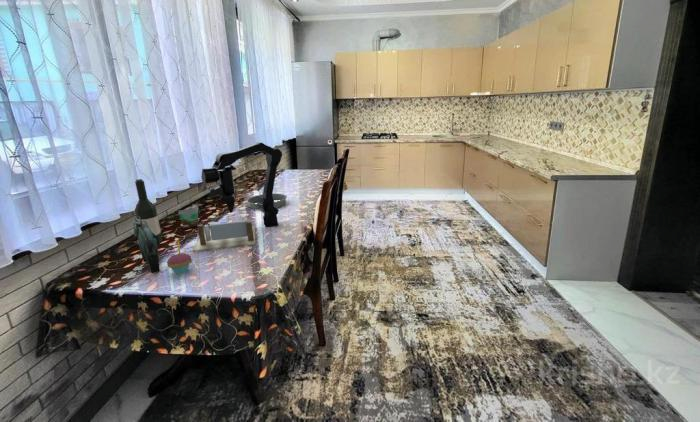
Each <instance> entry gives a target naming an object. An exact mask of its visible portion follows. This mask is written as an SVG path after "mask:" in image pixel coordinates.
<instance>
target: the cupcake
mask: <svg viewBox="0 0 700 422" xmlns="http://www.w3.org/2000/svg"><path fill="white" fill-rule="evenodd" d="M176 244H177V251H178V253H176V254H172V255H171V256H170V257H169V258H168V259H167V260H166V264H167V265H166V266H167V267H168V268H171V270H172V271H173V273H174V274H175V275H184V274H187V273H188V272H189V268H190V264H191V263H192V256H191V255H190V254H189V253H183V252H181V246H180V242H179V240H177V242H176Z"/></svg>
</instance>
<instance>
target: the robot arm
mask: <svg viewBox="0 0 700 422" xmlns="http://www.w3.org/2000/svg"><path fill="white" fill-rule="evenodd" d="M258 152H260V153H261V154H263V155H265V161H266V170H265V171H266V172H265V177H264V178H265V179H264V185H263V191H262V194H260V195H261V196H258V202H257V204H258V208H259V209H260V210H261V212H262V213H263V216H262V217H263V219H262V220H263V225H264V227H265V228H268V227H276V226H279V222H278V214H279V211H280V209H278V208H275V207H274V200H273V196H272V194H274V188H275V187H274V186H275V180H276V176H277V175H276V174H277V169H278V166H279V164H280V163H281V160H282V157H283V151H281V149H279V148H274V147H271V146H269V145H267V144H265V143H263V142H261V141H260V142H258V141H257V142H255V143H253V144H250V145H248V146H244V147H241V148H239V149H236V150H234V151H233V150H232V151H225V152H224V151H223V152H219V153H217V154H216V156H215V161H214V163H213V165H212V166H211V167H207V168H201V176H200V177H201V180H202V183H203V185H207V184H214V183H218V181H220V184H219V185H218V186H216V187H212V188H211V189H210V190H208V194H209V196H210V197H211V199H213V198H215V197H217V196H219V195H220V198H219V201H220V202H219V203H221V204H226V206H227V208H228V211H229V213H230V214H231V213H233V212H234V207H235V203H236V198H237V196H236V195H237V194H238V190H237V188H236V187H235V181H234V177H233V171H236V170H237V168H236V167H235V166H234V165H233V164H234V163H236V162H237V161H238V160H240V159H242V158H245V157H248V156H251V155H252V154H256V153H258ZM260 210H259V211H260Z"/></svg>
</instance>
